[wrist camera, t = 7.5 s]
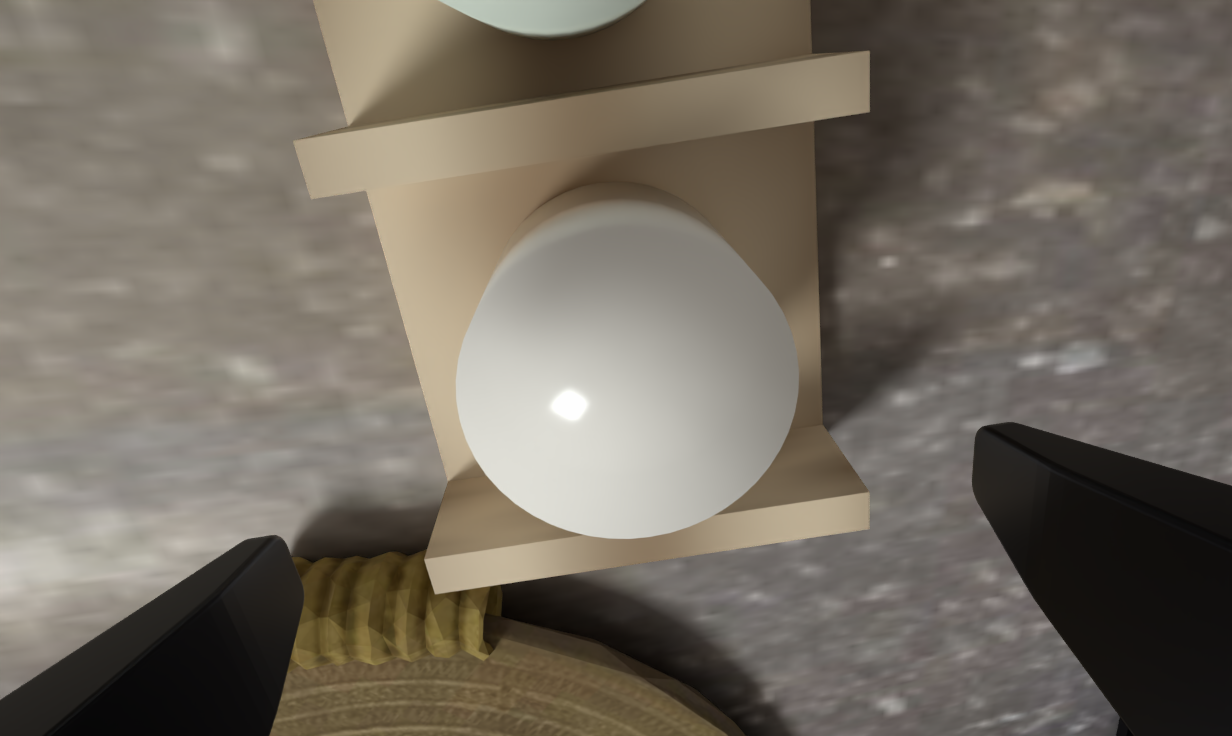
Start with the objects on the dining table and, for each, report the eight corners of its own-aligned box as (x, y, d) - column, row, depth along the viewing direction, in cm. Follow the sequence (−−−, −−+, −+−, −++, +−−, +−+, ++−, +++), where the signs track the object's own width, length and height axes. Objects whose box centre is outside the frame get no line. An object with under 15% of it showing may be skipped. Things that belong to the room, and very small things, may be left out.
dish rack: (780, -513, 12) (870, -765, 8) (814, 442, 20) (869, 528, 16) (209, -419, 12) (51, -629, 8) (461, 495, 20) (435, 594, 16)
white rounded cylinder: (729, 163, 16) (792, 199, 11) (747, 402, 18) (804, 515, 13) (465, 202, 16) (417, 254, 11) (516, 435, 18) (494, 559, 13)
